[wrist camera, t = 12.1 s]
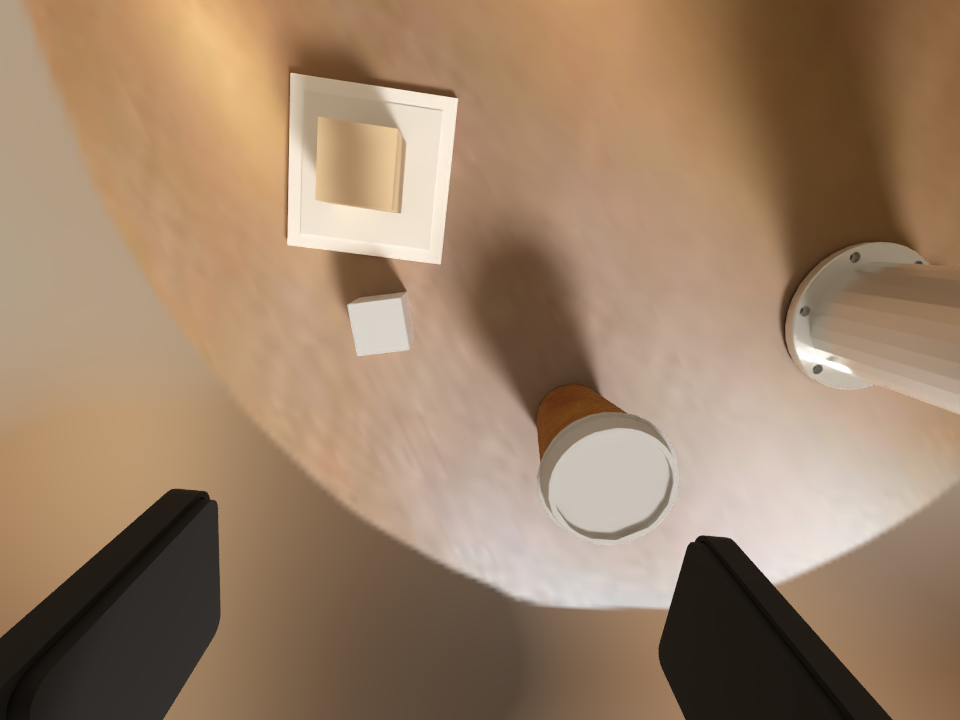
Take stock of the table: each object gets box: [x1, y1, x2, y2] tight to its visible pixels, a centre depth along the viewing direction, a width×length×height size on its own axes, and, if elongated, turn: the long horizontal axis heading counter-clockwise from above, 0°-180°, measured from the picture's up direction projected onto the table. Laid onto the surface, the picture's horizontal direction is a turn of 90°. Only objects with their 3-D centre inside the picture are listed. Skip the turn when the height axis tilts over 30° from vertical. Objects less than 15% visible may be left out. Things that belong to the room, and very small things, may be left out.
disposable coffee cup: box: [536, 384, 679, 545], centre depth 35 cm, size 10×10×12 cm
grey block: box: [347, 292, 415, 356], centre depth 36 cm, size 4×4×4 cm
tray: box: [288, 73, 458, 264], centre depth 35 cm, size 12×12×1 cm
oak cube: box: [315, 117, 407, 214], centre depth 32 cm, size 5×5×5 cm
